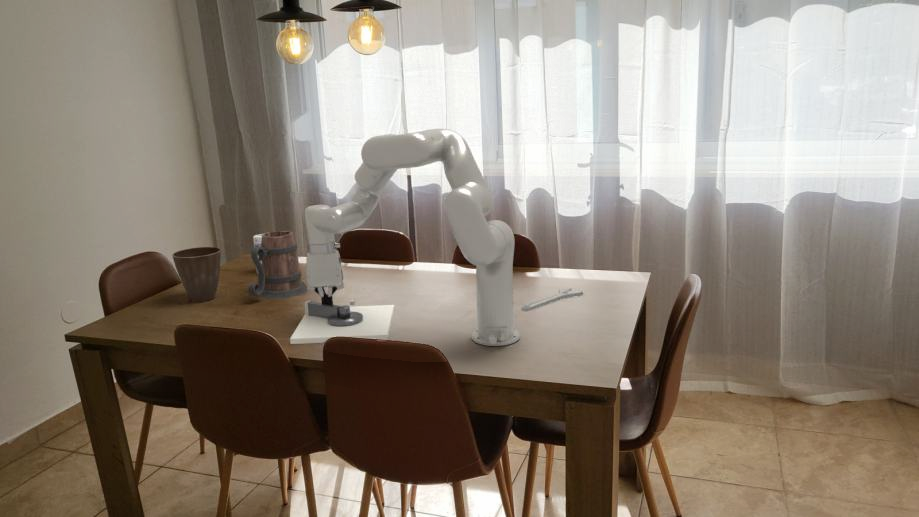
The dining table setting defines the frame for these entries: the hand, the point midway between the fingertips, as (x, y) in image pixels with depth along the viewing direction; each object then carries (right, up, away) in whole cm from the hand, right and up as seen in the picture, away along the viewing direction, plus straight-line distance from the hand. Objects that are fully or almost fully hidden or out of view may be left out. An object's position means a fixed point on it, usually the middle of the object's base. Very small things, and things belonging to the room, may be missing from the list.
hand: (327, 308), depth 207 cm
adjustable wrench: (+67, +1, +10) cm, 68 cm away
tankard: (-22, +3, +28) cm, 36 cm away
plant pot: (-46, +1, +26) cm, 53 cm away
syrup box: (-33, +9, +55) cm, 65 cm away
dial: (+2, -3, -4) cm, 5 cm away
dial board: (+6, -4, -4) cm, 8 cm away
